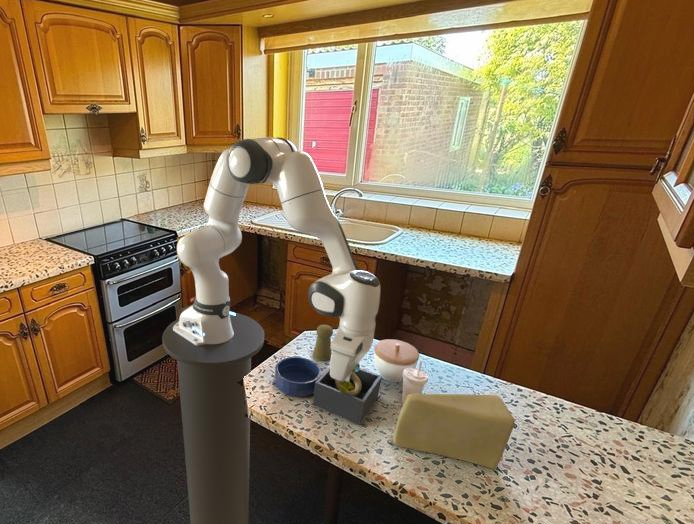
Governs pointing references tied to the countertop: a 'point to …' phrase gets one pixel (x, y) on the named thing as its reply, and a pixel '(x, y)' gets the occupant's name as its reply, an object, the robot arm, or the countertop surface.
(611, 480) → the countertop surface
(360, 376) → the bin
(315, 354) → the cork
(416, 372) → the smoothie
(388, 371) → the lidded bowl
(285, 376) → the toy bowl
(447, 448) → the cheese
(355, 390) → the rattle
